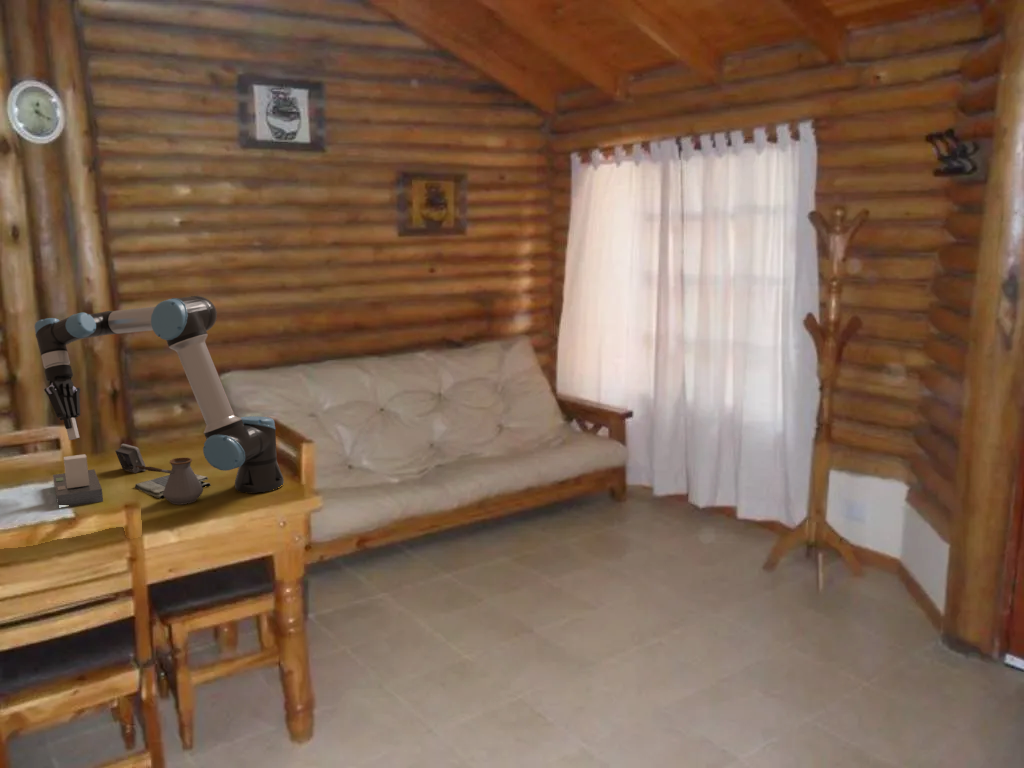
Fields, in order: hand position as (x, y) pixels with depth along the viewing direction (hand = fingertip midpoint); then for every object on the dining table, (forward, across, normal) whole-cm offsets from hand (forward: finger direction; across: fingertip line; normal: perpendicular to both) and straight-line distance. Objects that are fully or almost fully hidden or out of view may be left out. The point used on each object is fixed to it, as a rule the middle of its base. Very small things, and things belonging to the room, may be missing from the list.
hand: (74, 438), depth 256 cm
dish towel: (+23, -15, +20) cm, 34 cm away
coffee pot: (+29, +1, +28) cm, 40 cm away
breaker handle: (+15, +3, 0) cm, 15 cm away
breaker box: (+17, -2, -5) cm, 18 cm away
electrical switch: (+12, -27, -3) cm, 29 cm away
